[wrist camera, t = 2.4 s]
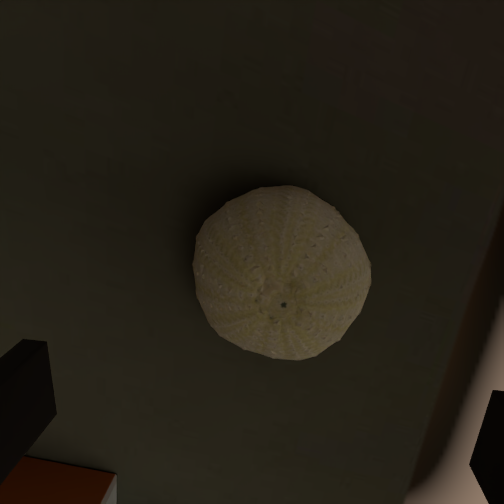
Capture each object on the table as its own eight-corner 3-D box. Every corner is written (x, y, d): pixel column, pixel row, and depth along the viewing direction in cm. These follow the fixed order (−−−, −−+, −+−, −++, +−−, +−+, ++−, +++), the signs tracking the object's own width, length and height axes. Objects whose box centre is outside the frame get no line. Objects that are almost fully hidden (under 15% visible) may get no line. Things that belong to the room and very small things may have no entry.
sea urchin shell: (320, 138, 18) (388, 295, 14) (349, 216, 25) (400, 337, 21) (153, 215, 20) (172, 370, 16) (220, 268, 27) (246, 387, 23)
